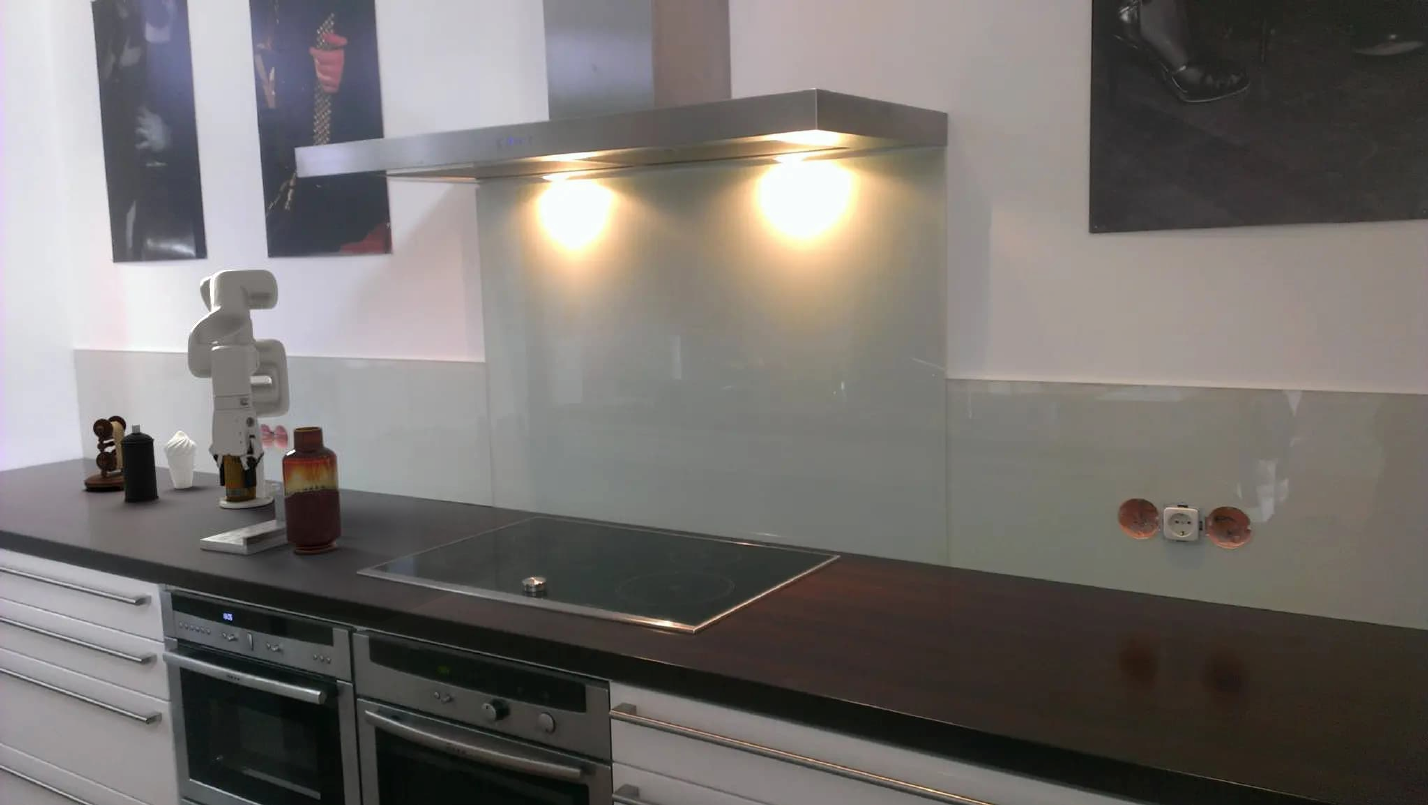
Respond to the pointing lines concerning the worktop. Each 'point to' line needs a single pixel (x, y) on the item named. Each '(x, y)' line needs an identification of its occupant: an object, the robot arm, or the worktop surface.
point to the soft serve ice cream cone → (181, 459)
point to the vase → (311, 493)
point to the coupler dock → (252, 535)
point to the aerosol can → (138, 466)
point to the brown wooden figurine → (108, 453)
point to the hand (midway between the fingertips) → (238, 485)
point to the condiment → (237, 482)
